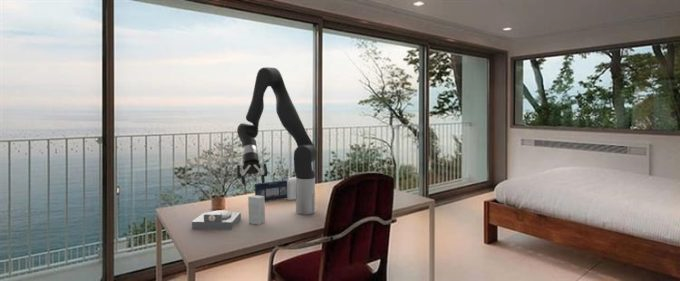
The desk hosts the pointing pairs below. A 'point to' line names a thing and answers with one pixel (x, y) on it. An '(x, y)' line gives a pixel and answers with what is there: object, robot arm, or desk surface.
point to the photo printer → (291, 188)
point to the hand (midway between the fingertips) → (253, 183)
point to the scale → (216, 220)
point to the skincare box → (256, 209)
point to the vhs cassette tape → (272, 190)
